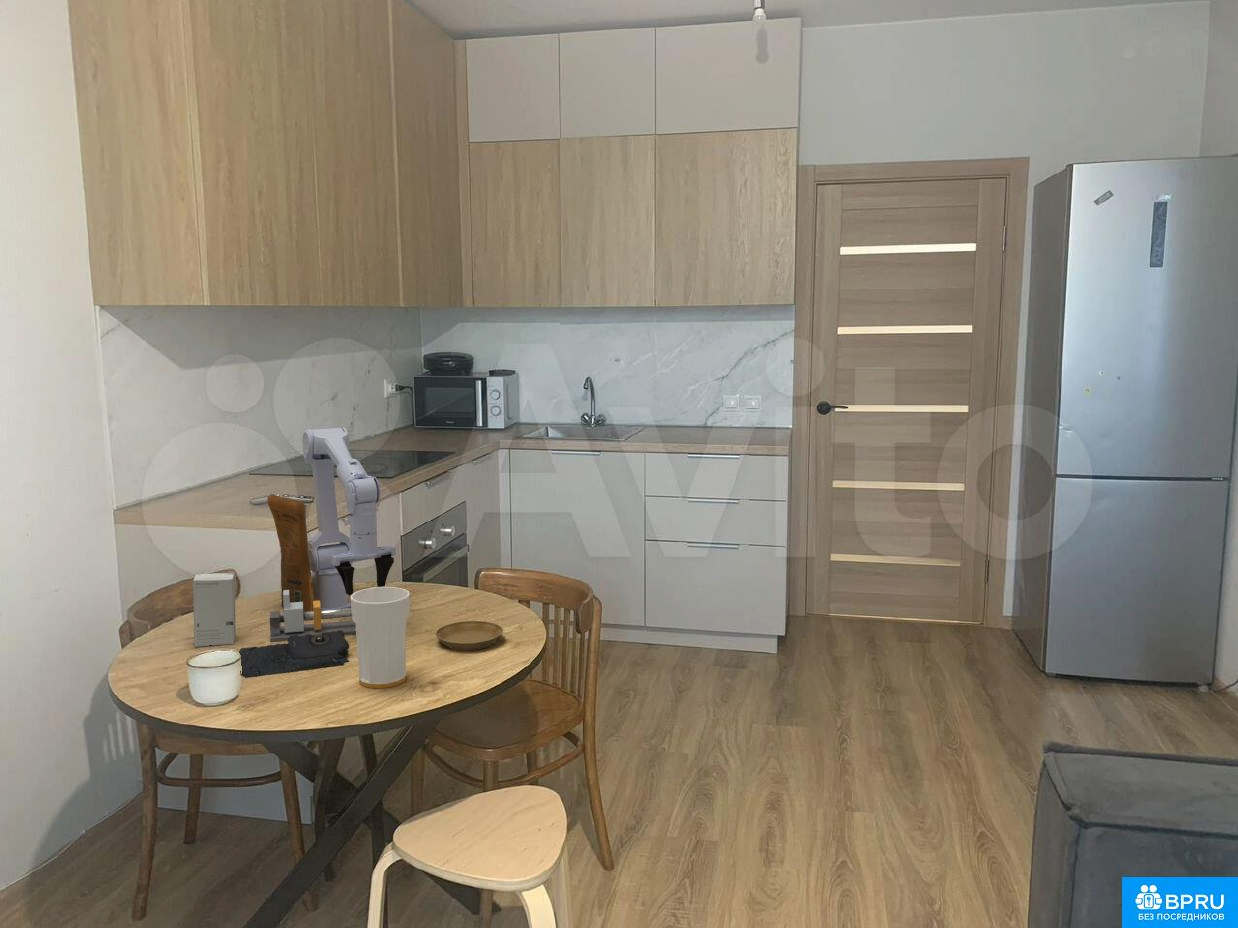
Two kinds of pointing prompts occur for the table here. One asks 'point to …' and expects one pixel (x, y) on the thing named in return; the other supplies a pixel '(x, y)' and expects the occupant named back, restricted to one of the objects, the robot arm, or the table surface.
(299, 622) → the sleeve
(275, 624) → the pipe
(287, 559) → the pancake mix bag
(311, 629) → the board
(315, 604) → the orange wooden block
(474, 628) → the plant saucer
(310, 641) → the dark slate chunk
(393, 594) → the cup
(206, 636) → the skincare box
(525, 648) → the table surface
